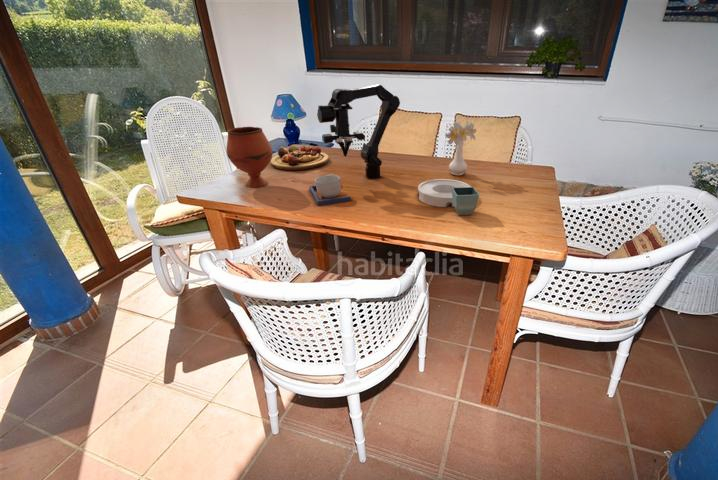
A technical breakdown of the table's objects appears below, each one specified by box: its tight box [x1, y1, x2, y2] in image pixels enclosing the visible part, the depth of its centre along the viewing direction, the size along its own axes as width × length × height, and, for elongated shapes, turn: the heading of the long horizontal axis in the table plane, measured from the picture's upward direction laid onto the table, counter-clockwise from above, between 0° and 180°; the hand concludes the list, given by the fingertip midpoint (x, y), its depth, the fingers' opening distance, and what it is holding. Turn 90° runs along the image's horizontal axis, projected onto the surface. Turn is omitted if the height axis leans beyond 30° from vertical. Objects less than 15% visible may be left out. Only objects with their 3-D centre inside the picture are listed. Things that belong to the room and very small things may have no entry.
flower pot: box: [452, 186, 480, 216], centre depth 138 cm, size 9×9×9 cm
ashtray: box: [417, 178, 472, 208], centre depth 154 cm, size 23×23×4 cm
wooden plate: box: [269, 144, 330, 171], centre depth 197 cm, size 32×32×8 cm
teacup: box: [314, 173, 342, 199], centre depth 155 cm, size 14×11×8 cm
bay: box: [308, 184, 352, 206], centre depth 157 cm, size 14×20×2 cm
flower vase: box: [444, 119, 477, 176], centre depth 174 cm, size 13×18×25 cm
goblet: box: [226, 126, 273, 188], centre depth 163 cm, size 19×19×25 cm
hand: (345, 156), depth 166 cm, fingers closed
